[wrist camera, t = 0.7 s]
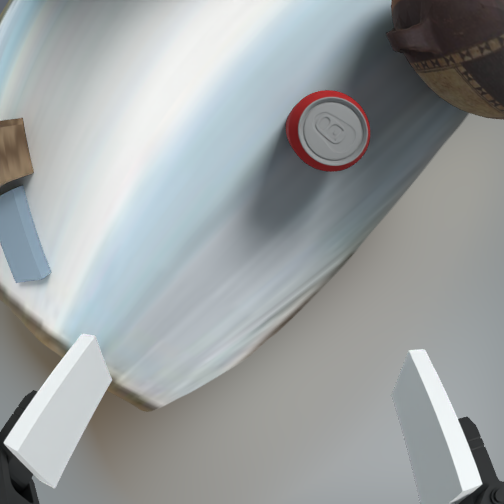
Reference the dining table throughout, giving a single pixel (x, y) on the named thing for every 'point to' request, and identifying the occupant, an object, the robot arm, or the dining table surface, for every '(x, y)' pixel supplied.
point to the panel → (21, 238)
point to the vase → (455, 50)
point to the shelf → (13, 151)
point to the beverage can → (328, 130)
